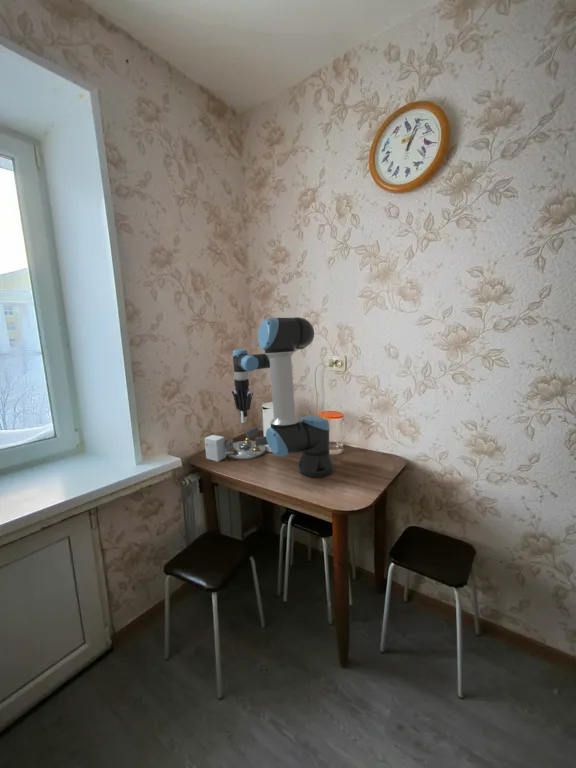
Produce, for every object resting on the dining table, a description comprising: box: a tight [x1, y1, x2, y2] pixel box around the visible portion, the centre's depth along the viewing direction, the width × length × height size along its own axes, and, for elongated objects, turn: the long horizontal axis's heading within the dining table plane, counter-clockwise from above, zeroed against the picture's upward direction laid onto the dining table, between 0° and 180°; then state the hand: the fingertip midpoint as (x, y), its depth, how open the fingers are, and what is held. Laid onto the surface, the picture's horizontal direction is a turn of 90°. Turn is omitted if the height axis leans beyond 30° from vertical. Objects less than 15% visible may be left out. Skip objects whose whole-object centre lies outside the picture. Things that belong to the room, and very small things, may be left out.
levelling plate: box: [225, 440, 266, 460], centre depth 166 cm, size 20×20×4 cm
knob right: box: [243, 426, 259, 443], centre depth 175 cm, size 10×4×6 cm, turn 147°
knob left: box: [225, 438, 235, 452], centre depth 159 cm, size 10×4×6 cm, turn 177°
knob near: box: [253, 435, 269, 451], centre depth 162 cm, size 10×4×6 cm, turn 103°
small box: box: [204, 434, 227, 463], centre depth 158 cm, size 8×6×10 cm
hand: (243, 422), depth 178 cm, fingers closed
